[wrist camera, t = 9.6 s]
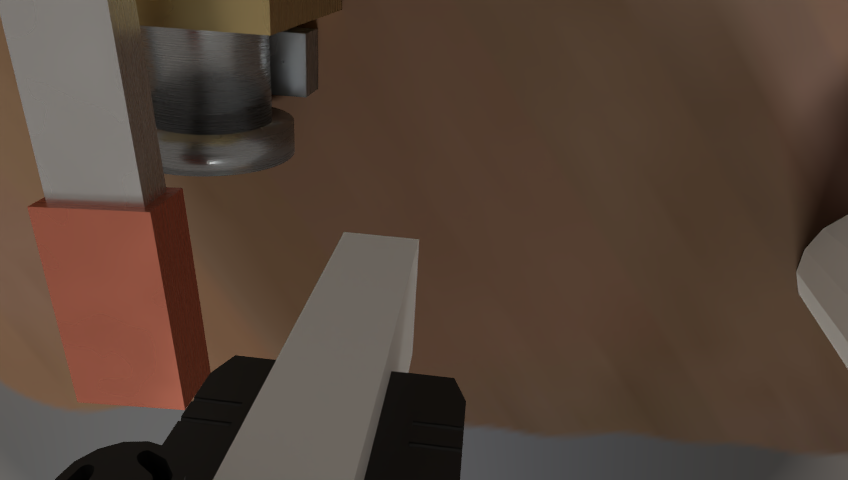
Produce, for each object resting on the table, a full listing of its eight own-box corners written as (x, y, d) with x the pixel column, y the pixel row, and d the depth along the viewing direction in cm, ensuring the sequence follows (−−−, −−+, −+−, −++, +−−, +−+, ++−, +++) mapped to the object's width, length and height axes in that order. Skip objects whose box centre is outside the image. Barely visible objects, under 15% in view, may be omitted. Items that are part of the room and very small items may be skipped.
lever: (-48, -263, 14) (-122, -293, 12) (131, -268, 13) (80, -299, 12) (99, 365, 20) (64, 401, 19) (223, 373, 20) (198, 410, 18)
